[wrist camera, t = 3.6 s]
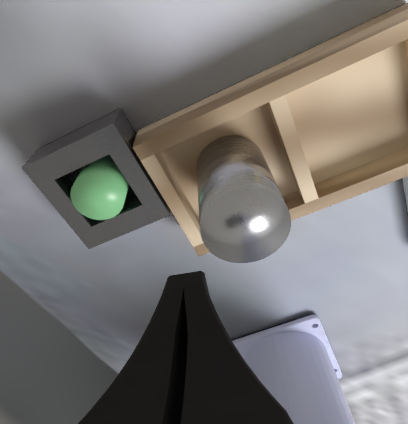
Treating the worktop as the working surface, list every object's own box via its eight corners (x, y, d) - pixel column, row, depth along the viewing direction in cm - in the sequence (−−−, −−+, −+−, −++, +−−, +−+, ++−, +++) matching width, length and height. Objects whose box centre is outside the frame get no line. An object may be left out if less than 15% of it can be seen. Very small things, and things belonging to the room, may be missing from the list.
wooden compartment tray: (423, 142, 21) (449, 160, 19) (197, 232, 24) (198, 256, 22) (406, 2, 17) (437, 5, 15) (137, 130, 20) (132, 147, 18)
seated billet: (274, 182, 21) (301, 244, 16) (213, 207, 22) (221, 274, 17) (250, 123, 19) (274, 173, 14) (184, 153, 20) (184, 210, 15)
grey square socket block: (171, 193, 23) (170, 215, 20) (97, 225, 24) (88, 248, 22) (120, 107, 20) (113, 123, 17) (38, 148, 21) (21, 167, 18)
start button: (139, 182, 22) (134, 208, 19) (100, 199, 22) (90, 227, 20) (115, 143, 21) (105, 166, 18) (74, 163, 21) (59, 187, 19)
